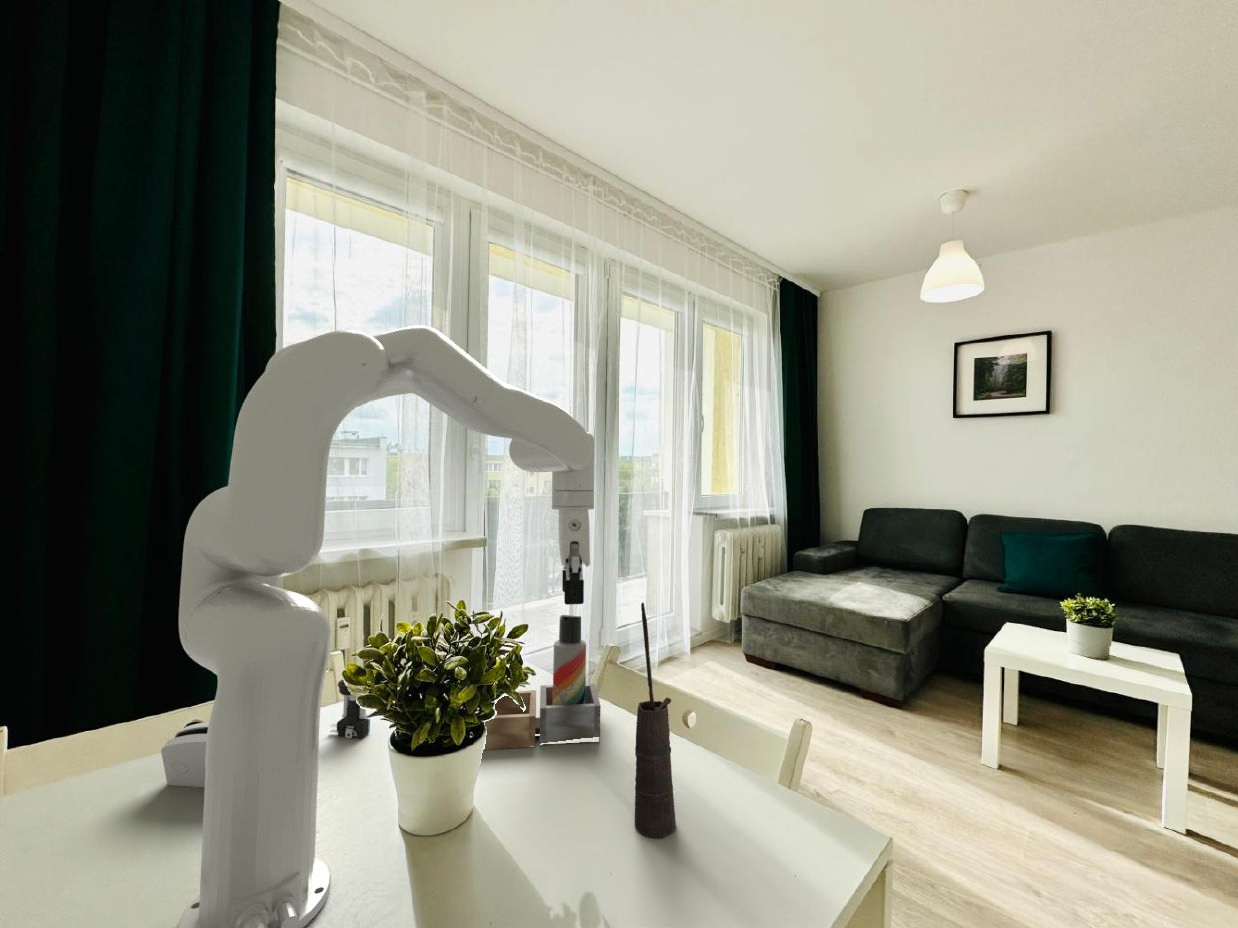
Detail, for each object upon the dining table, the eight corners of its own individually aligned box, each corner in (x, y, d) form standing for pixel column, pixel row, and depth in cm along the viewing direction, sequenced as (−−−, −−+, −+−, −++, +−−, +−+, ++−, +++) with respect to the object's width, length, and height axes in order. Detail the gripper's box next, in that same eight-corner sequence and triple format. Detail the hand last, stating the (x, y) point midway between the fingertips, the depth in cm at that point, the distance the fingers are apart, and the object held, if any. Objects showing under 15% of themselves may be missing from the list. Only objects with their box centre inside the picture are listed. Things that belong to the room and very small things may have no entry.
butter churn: (678, 794, 74) (680, 592, 75) (710, 838, 65) (712, 607, 66) (615, 805, 71) (618, 595, 72) (639, 853, 62) (643, 611, 63)
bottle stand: (593, 714, 99) (594, 682, 99) (600, 743, 88) (600, 706, 88) (474, 720, 96) (475, 686, 96) (465, 750, 85) (466, 712, 85)
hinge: (302, 771, 78) (289, 716, 75) (280, 800, 73) (265, 743, 70) (196, 765, 79) (179, 711, 76) (168, 793, 75) (149, 737, 72)
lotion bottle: (546, 734, 91) (548, 616, 91) (560, 720, 96) (562, 609, 97) (577, 739, 89) (579, 619, 90) (589, 725, 94) (591, 612, 95)
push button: (321, 741, 87) (323, 679, 88) (340, 726, 92) (342, 668, 93) (359, 743, 87) (361, 681, 87) (377, 728, 92) (379, 670, 92)
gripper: (599, 503, 86) (598, 608, 86) (589, 498, 103) (589, 586, 103) (552, 503, 85) (551, 610, 85) (551, 498, 102) (550, 587, 102)
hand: (572, 597), depth 94 cm, fingers open, 9 cm apart
